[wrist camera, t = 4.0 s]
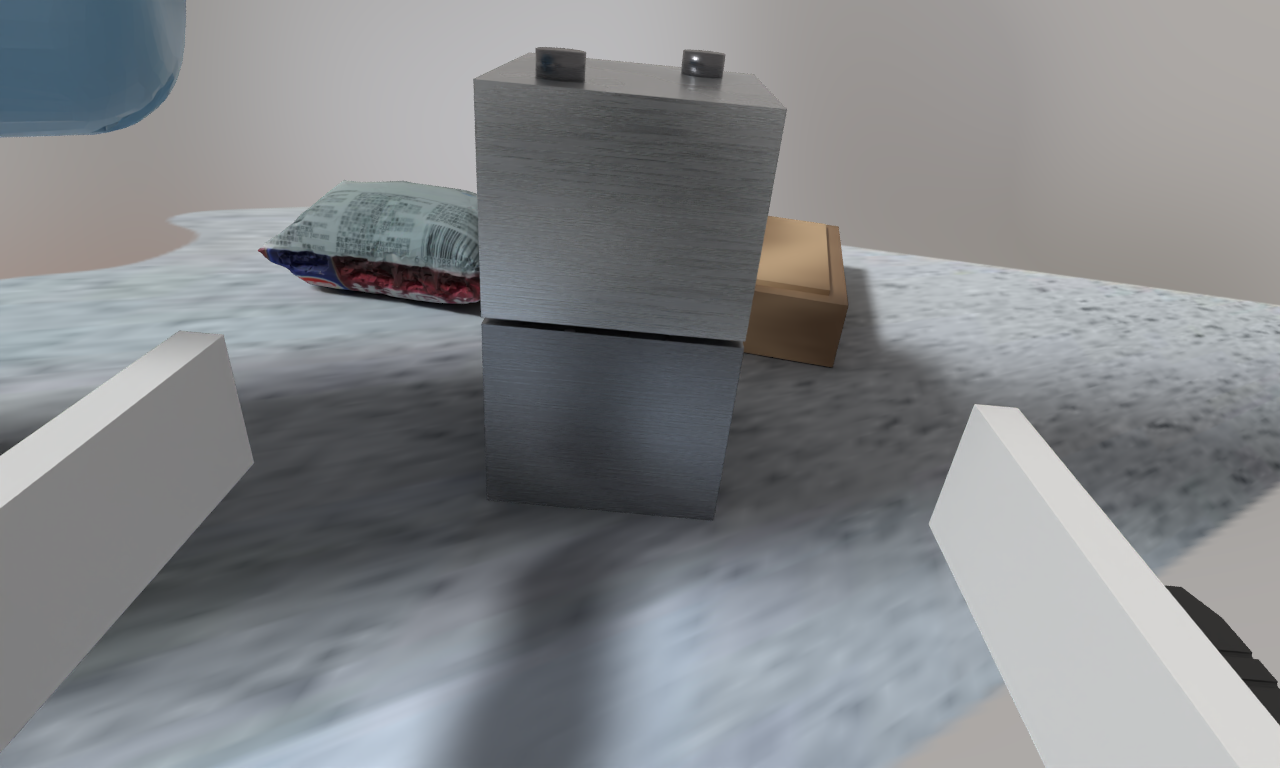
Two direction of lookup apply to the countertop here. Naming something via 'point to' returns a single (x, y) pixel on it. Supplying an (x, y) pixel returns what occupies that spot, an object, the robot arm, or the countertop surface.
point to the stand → (798, 293)
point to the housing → (617, 274)
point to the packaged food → (387, 241)
